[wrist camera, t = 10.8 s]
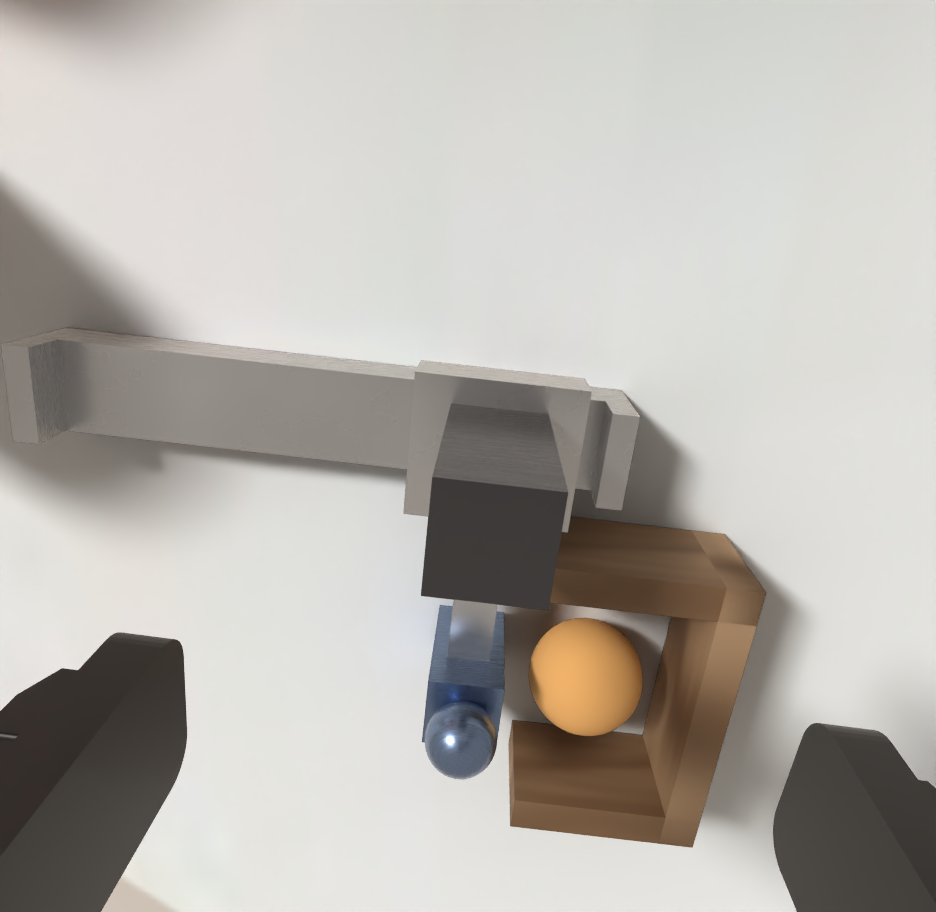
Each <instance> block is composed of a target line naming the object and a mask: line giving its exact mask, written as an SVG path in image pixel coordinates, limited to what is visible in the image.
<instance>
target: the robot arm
mask: <svg viewBox="0 0 936 912" xmlns="http://www.w3.org/2000/svg"><path fill="white" fill-rule="evenodd" d="M186 741H187V721H186V699H185V677H184V656H183V649H182V645H181V643H180V642H179V641H178V640H175V639H167V638H160V637H152V636H144V635H136V634H128V633H115V634H113V635H112V636H110V637H109V638H108V639H107V640H106V641H105V642H104V643H103V644H102V645H101V646H100V647H99V648H98V649H97V651H96V652H95V653H94V654H93V655H92V656H91V657H90V658H89V659H88V660H87V661H86V662H85V664H84V665H83V666H82V667H81V668H80V669H79V670H71V669H63V668H62V669H60V670H59V671H57V672H55V673H53V674H52V675H50V676H48V677H47V678H45V679H43V680H41V681H40V682H38V683H36V684H35V685H33V686H31V687H29V688H28V689H26V690H24V691H23V692H21V693H19V694H17V695H16V696H15V697H14V698H13V699H12V700H11V701H10V702H9V703H8V704H7V705H6V706H5V707H4V708H3V709H2V710H1V711H0V912H101V911H102V909H103V907H104V905H105V904H106V902H107V900H108V898H109V897H110V895H111V893H112V892H113V890H114V888H115V886H116V884H117V883H118V881H119V879H120V878H121V876H122V874H123V872H124V871H125V869H126V867H127V865H128V864H129V862H130V860H131V858H132V857H133V855H134V853H135V852H136V850H137V848H138V846H139V845H140V843H141V841H142V839H143V838H144V836H145V834H146V832H147V831H148V829H149V827H150V825H151V824H152V822H153V820H154V819H155V817H156V815H157V813H158V812H159V810H160V808H161V806H162V805H163V803H164V801H165V799H166V798H167V796H168V794H169V792H170V791H171V789H172V787H173V785H174V783H175V781H176V779H177V776H178V774H179V771H180V768H181V765H182V761H183V758H184V753H185V748H186ZM773 838H774V848H775V854H776V858H777V862H778V865H779V868H780V871H781V874H782V876H783V878H784V881H785V883H786V886H787V888H788V891H789V893H790V895H791V898H792V900H793V903H794V905H795V908H796V910H797V912H936V788H935V787H934V786H932V785H931V784H930V783H929V782H928V781H921V780H918V779H917V778H916V776H915V775H914V774H913V772H912V771H911V769H910V768H909V767H908V765H907V764H906V762H905V761H904V760H903V758H902V757H901V755H900V754H899V753H898V751H897V750H896V748H895V747H894V746H893V744H892V743H891V742H890V740H889V739H888V738H887V737H886V736H885V735H884V734H882V733H880V732H879V731H875V730H868V729H860V728H852V727H844V726H836V725H828V724H820V723H814V724H812V725H810V726H809V727H808V728H807V729H806V731H805V733H804V735H803V737H802V740H801V743H800V745H799V748H798V751H797V754H796V756H795V759H794V762H793V765H792V768H791V770H790V773H789V776H788V779H787V781H786V784H785V787H784V790H783V792H782V795H781V798H780V801H779V804H778V806H777V809H776V813H775V817H774V825H773Z"/></svg>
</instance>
